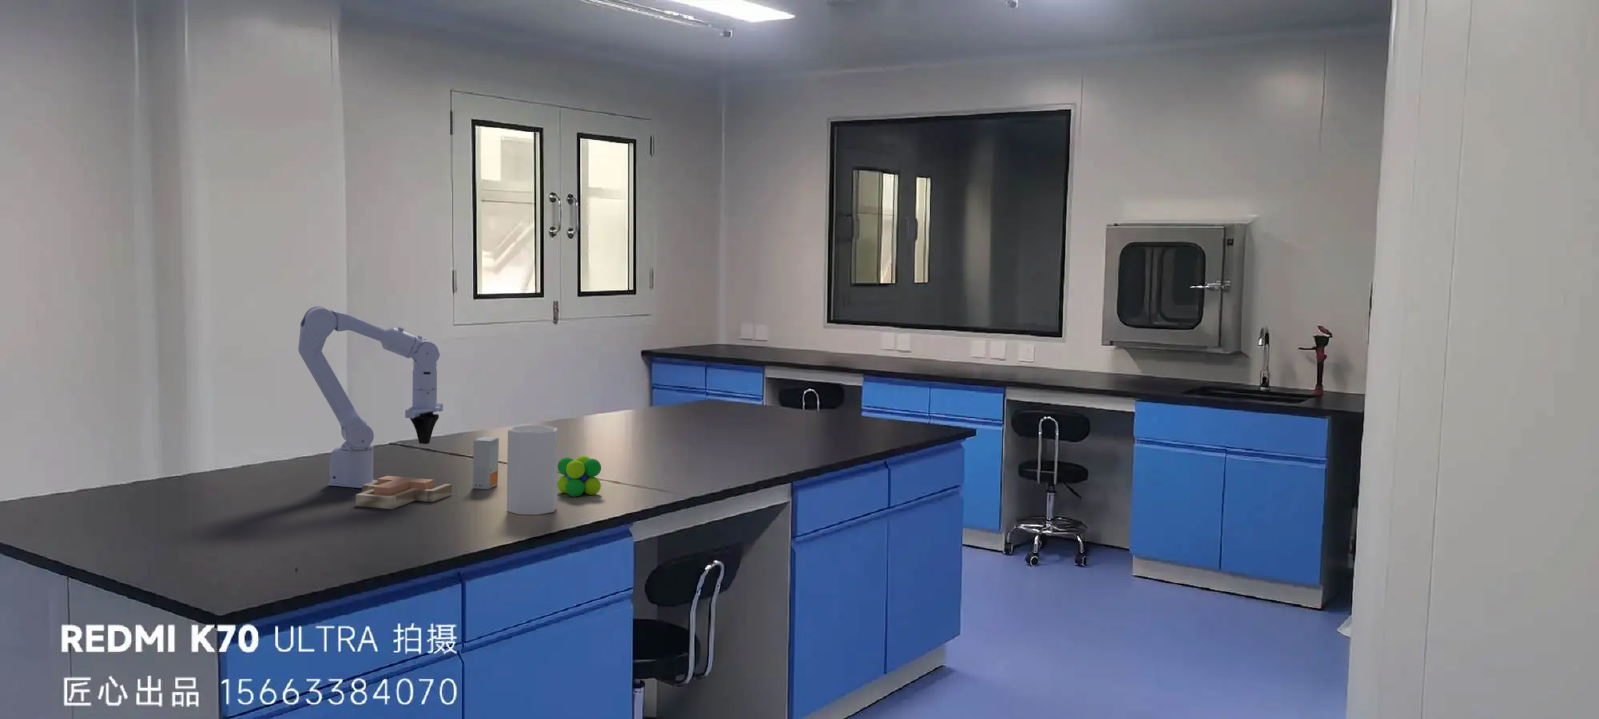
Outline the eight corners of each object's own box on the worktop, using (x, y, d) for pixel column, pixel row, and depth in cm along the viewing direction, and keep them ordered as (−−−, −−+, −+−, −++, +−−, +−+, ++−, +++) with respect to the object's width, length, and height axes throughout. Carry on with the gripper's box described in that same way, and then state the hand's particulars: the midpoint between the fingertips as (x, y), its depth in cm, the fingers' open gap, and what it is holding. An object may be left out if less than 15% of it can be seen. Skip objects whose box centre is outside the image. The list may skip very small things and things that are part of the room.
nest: (337, 504, 256) (337, 493, 256) (382, 488, 273) (382, 478, 273) (410, 510, 252) (411, 499, 252) (451, 494, 270) (451, 484, 270)
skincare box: (488, 489, 277) (489, 441, 276) (472, 488, 277) (472, 440, 276) (498, 485, 283) (499, 437, 282) (482, 483, 283) (482, 436, 282)
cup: (512, 517, 250) (514, 433, 248) (501, 506, 260) (502, 425, 258) (562, 513, 255) (564, 431, 253) (549, 503, 265) (550, 424, 263)
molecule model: (570, 499, 270) (603, 495, 276) (571, 462, 269) (604, 459, 275) (554, 492, 277) (586, 488, 282) (554, 456, 276) (587, 453, 282)
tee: (357, 502, 258) (357, 485, 258) (387, 492, 270) (387, 475, 270) (405, 506, 256) (406, 489, 255) (433, 496, 268) (433, 479, 267)
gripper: (424, 393, 274) (423, 449, 276) (454, 386, 289) (453, 440, 290) (397, 391, 276) (397, 447, 277) (428, 385, 290) (428, 438, 291)
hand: (424, 443), depth 283 cm, fingers closed
